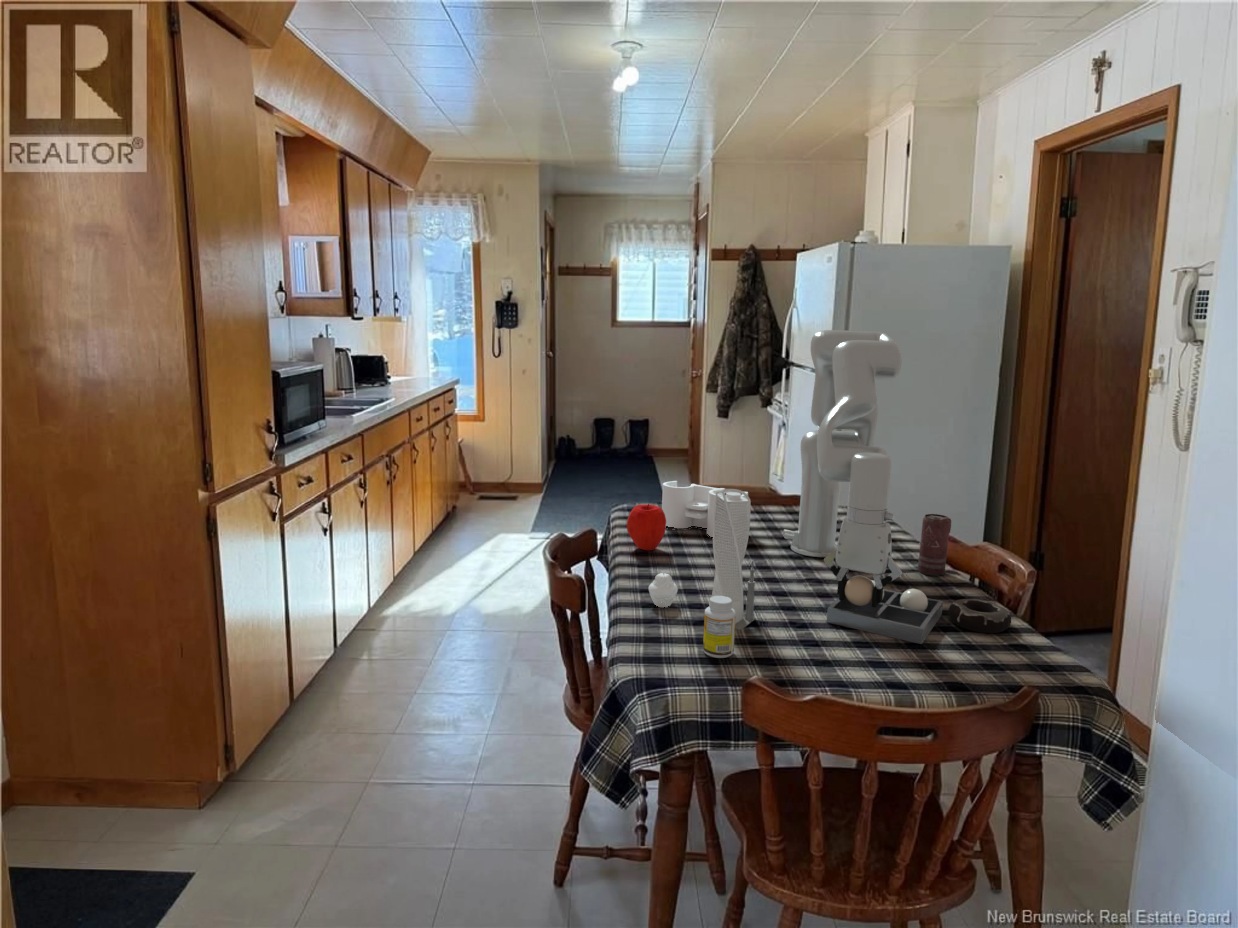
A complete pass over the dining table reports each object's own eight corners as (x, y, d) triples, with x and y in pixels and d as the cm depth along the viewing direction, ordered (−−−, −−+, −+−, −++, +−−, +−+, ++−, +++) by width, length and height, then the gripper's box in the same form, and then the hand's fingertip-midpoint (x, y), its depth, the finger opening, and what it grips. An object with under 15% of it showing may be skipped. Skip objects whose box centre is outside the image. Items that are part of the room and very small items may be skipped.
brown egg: (848, 597, 167) (850, 569, 166) (877, 603, 164) (880, 575, 163) (839, 605, 162) (841, 577, 161) (869, 612, 159) (872, 583, 158)
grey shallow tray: (826, 622, 162) (827, 607, 162) (853, 596, 178) (854, 583, 177) (921, 644, 153) (923, 629, 152) (941, 614, 168) (943, 601, 168)
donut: (938, 613, 170) (940, 594, 169) (995, 615, 169) (997, 597, 169) (959, 635, 158) (961, 615, 158) (1020, 637, 158) (1023, 618, 157)
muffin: (657, 611, 165) (658, 579, 164) (642, 602, 171) (643, 570, 169) (682, 607, 168) (684, 575, 167) (667, 597, 174) (668, 566, 172)
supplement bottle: (713, 643, 150) (716, 591, 148) (739, 652, 147) (742, 599, 145) (696, 652, 146) (699, 599, 144) (722, 662, 143) (725, 607, 141)
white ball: (895, 615, 166) (898, 590, 165) (902, 607, 170) (904, 583, 169) (923, 621, 163) (925, 595, 162) (929, 613, 167) (931, 588, 166)
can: (947, 577, 192) (954, 520, 189) (919, 575, 193) (925, 518, 191) (943, 569, 198) (949, 514, 195) (915, 567, 199) (921, 512, 197)
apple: (620, 551, 205) (622, 505, 203) (634, 541, 214) (636, 497, 212) (657, 557, 202) (659, 509, 199) (670, 546, 211) (672, 501, 208)
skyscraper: (738, 633, 156) (746, 492, 151) (700, 624, 160) (707, 486, 155) (755, 620, 163) (763, 484, 158) (718, 611, 167) (725, 479, 162)
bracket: (654, 526, 230) (655, 485, 228) (671, 519, 238) (673, 479, 236) (734, 542, 216) (736, 498, 214) (749, 534, 224) (752, 492, 222)
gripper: (916, 518, 158) (907, 605, 162) (829, 505, 167) (823, 588, 171) (906, 526, 152) (898, 617, 155) (817, 512, 161) (811, 598, 164)
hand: (859, 601), depth 163 cm, fingers closed on brown egg, 5 cm apart
